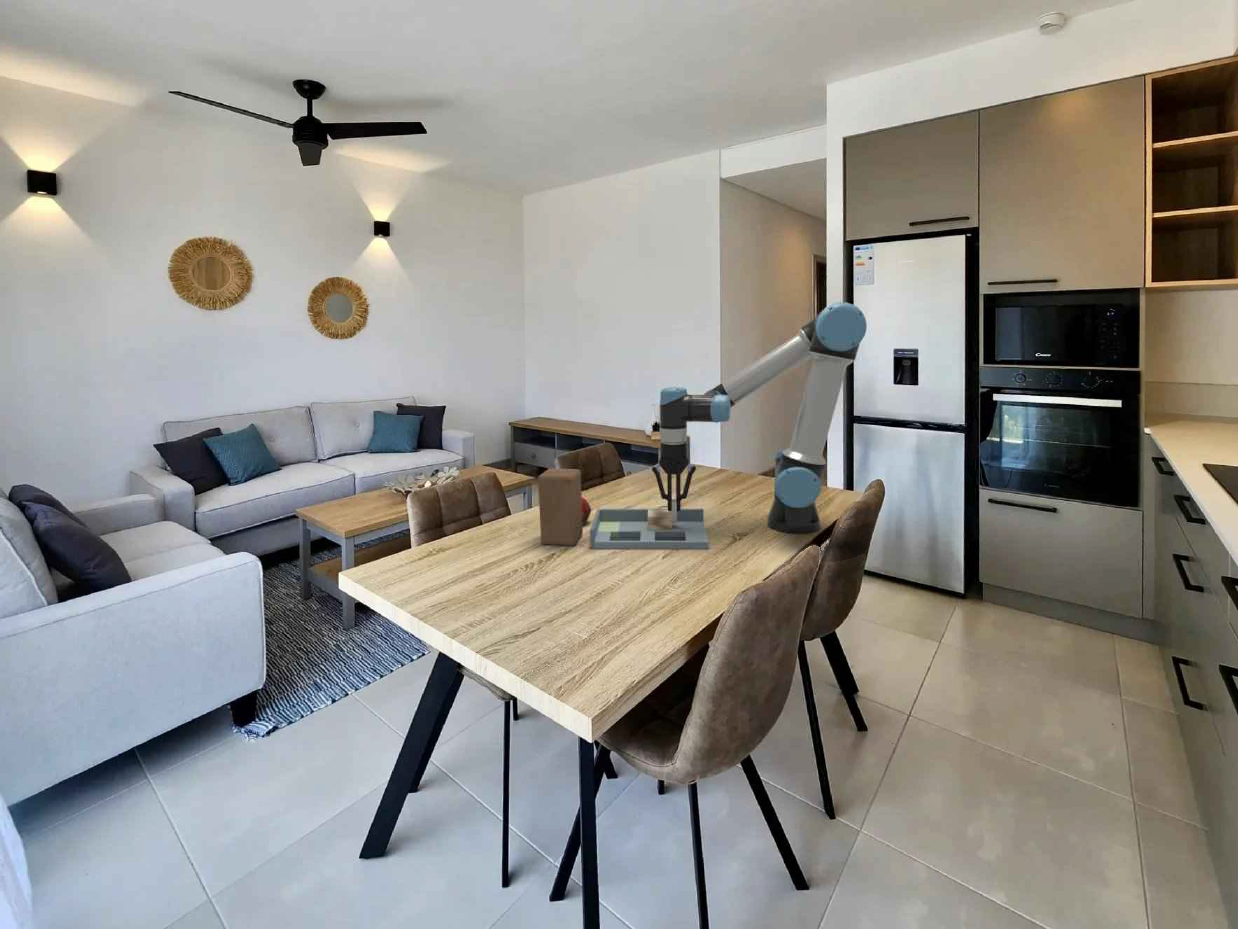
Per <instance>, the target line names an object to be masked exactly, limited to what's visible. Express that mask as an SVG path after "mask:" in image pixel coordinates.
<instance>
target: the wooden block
mask: <svg viewBox="0 0 1238 929" xmlns="http://www.w3.org/2000/svg"><path fill="white" fill-rule="evenodd" d="M581 474H582V473H581V470H580V469H578V468H577V469H576V468H548V469H546V470H545V471H543V472H542V473H541V474H540V475H538V477H537V486H538V504H539V506H538V507H539V522H540V523H539V525H540V540H541V542H540V543H541V544H543V545H556V546H560V545H561V546H575V545H576V543H577V542H578V541H579V539H580V538H581V537H582V536H583V533H584V531H583V527H584V526H583V523H582V498H583V497H582V477H581V476H582V475H581ZM581 497H582V498H581Z"/></svg>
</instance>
